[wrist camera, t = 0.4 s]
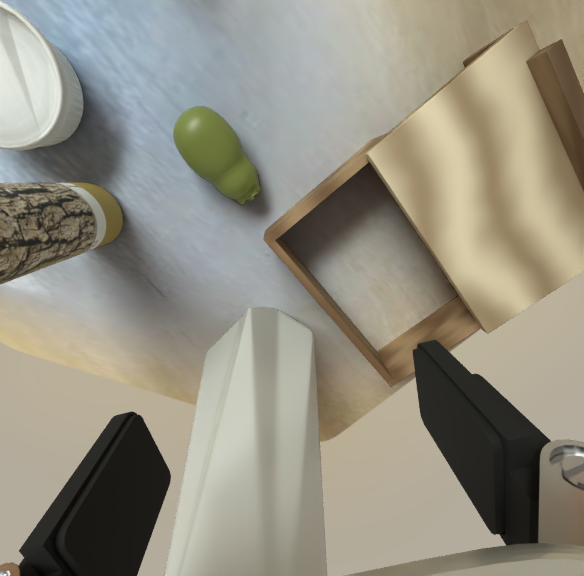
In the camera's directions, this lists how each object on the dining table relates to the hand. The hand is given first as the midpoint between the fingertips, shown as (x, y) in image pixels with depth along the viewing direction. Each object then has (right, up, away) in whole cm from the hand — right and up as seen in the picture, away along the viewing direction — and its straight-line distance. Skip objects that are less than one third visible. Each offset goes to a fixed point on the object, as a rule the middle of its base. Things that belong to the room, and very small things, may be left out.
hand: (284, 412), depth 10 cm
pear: (-7, +18, +23) cm, 30 cm away
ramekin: (-25, +23, +20) cm, 40 cm away
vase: (-4, -2, +30) cm, 30 cm away
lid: (+20, +12, +19) cm, 30 cm away
